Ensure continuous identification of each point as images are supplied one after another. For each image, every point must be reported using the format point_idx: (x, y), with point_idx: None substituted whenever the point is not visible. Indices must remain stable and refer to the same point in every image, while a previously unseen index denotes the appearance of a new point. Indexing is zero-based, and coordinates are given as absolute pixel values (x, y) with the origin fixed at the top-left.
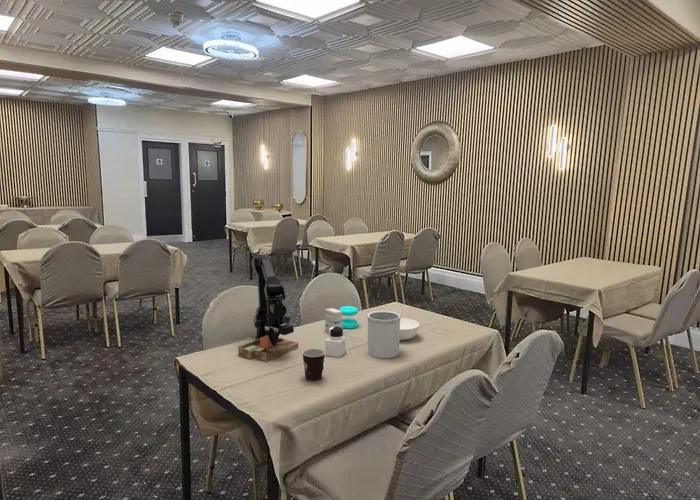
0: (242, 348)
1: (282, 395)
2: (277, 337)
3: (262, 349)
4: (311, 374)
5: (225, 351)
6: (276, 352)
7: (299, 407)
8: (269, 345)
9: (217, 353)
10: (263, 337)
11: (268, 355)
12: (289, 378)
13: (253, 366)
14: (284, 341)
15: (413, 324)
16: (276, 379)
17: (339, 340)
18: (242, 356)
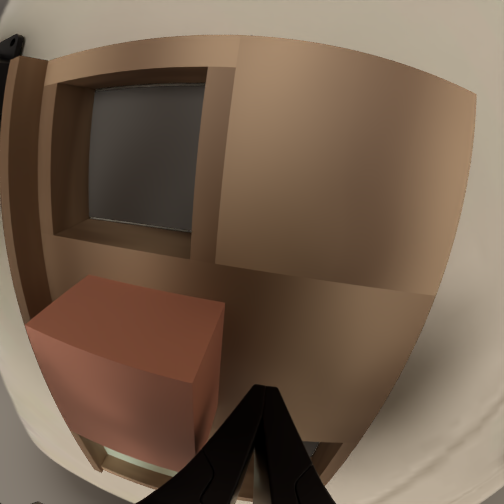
0: (125, 478)
1: (460, 501)
2: (311, 486)
3: (208, 439)
4: None
5: (40, 397)
6: (360, 435)
7: (494, 492)
8: (213, 404)
9: (47, 418)
10: (82, 423)
11: (329, 479)
12: (474, 469)
13: None
14: (255, 122)
15: None
16: (432, 491)
17: None
18: None
